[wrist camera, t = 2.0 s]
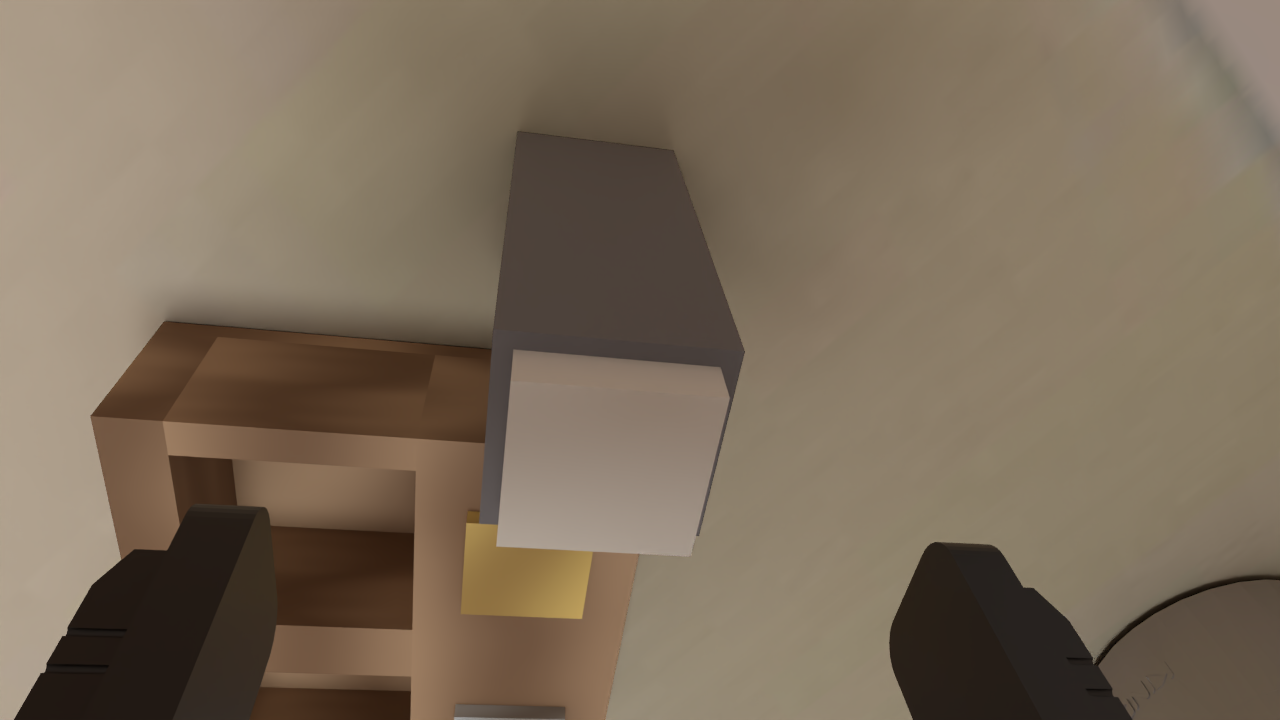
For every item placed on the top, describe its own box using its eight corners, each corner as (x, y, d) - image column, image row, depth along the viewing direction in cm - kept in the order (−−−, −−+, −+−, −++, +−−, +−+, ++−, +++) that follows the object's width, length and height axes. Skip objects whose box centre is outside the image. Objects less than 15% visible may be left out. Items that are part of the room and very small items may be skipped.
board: (644, 362, 23) (660, 466, 19) (583, 700, 30) (586, 823, 27) (164, 321, 21) (81, 427, 18) (220, 690, 28) (170, 821, 25)
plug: (673, 150, 20) (755, 381, 12) (649, 287, 22) (705, 571, 14) (517, 131, 20) (489, 360, 11) (506, 274, 21) (475, 559, 13)
